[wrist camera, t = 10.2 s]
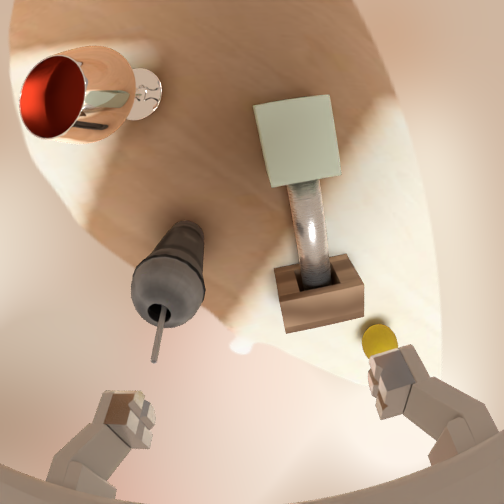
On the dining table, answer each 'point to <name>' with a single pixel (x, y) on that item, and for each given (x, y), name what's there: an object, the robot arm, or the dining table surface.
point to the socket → (320, 296)
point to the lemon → (378, 340)
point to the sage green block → (298, 139)
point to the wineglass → (86, 95)
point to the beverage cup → (171, 280)
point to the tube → (310, 233)
